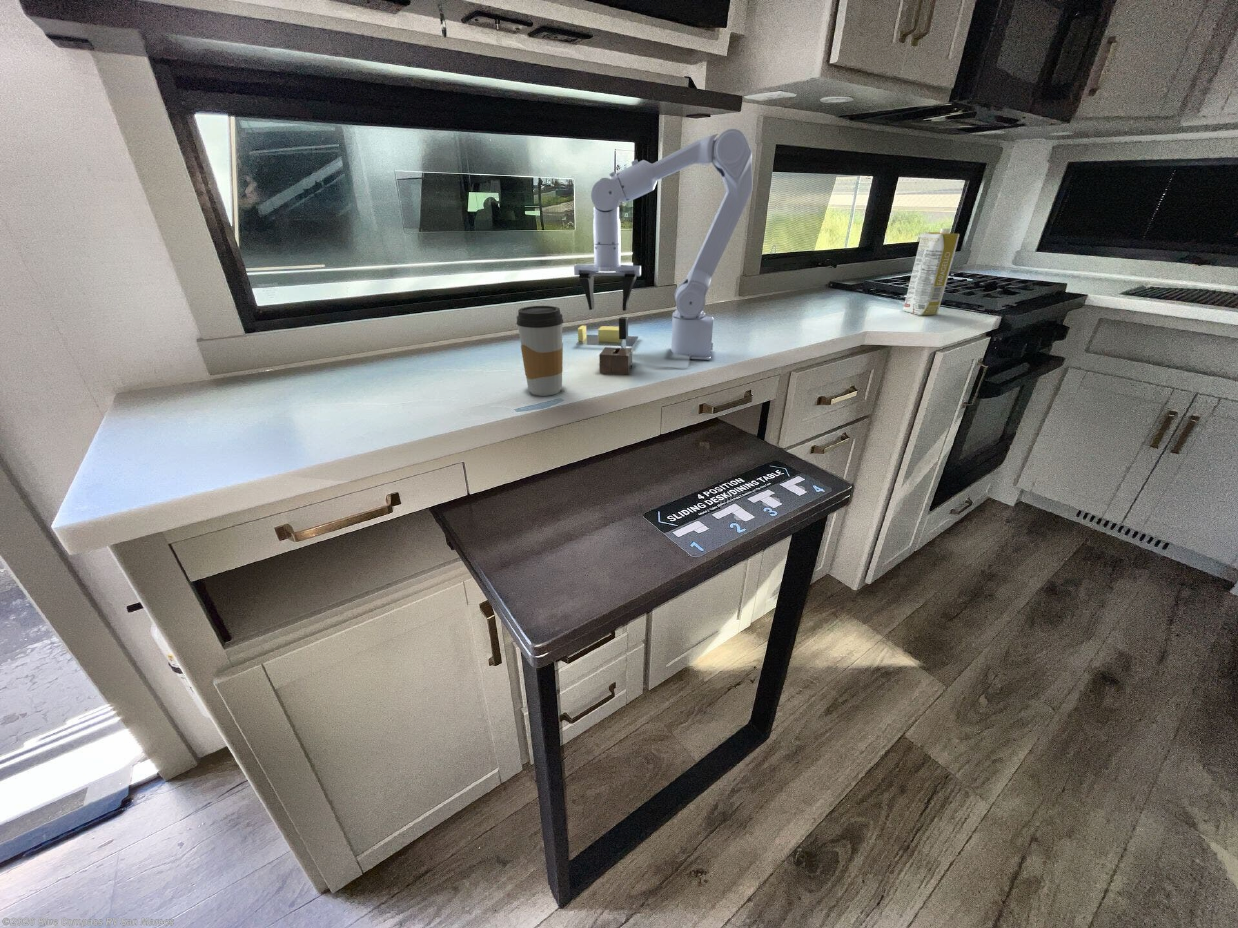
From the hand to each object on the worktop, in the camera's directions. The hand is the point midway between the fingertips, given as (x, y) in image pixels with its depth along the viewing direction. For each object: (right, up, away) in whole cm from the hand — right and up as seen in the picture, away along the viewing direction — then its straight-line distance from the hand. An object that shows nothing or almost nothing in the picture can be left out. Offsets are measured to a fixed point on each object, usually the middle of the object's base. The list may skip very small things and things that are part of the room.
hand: (608, 309), depth 114 cm
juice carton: (+97, +12, +45) cm, 107 cm away
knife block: (+2, -15, -6) cm, 16 cm away
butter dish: (0, -5, +13) cm, 14 cm away
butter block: (+1, -4, +12) cm, 13 cm away
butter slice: (-7, -3, +13) cm, 15 cm away
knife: (+3, -11, +2) cm, 11 cm away
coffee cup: (-12, -21, -18) cm, 30 cm away
